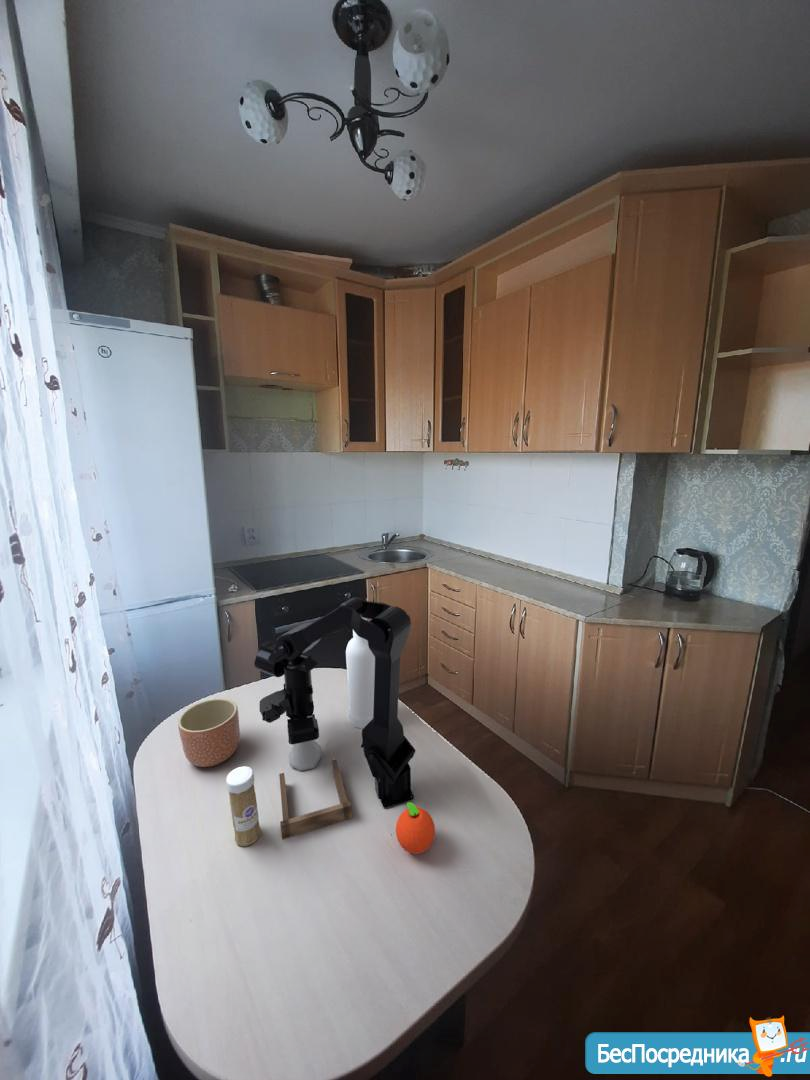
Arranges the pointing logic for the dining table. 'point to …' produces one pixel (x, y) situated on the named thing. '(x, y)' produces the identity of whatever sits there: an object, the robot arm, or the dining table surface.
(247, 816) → the sprinkles bottle
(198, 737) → the planter
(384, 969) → the dining table surface
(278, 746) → the dining table surface
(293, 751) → the flask
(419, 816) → the clementine
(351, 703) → the bottle
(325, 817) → the bay
